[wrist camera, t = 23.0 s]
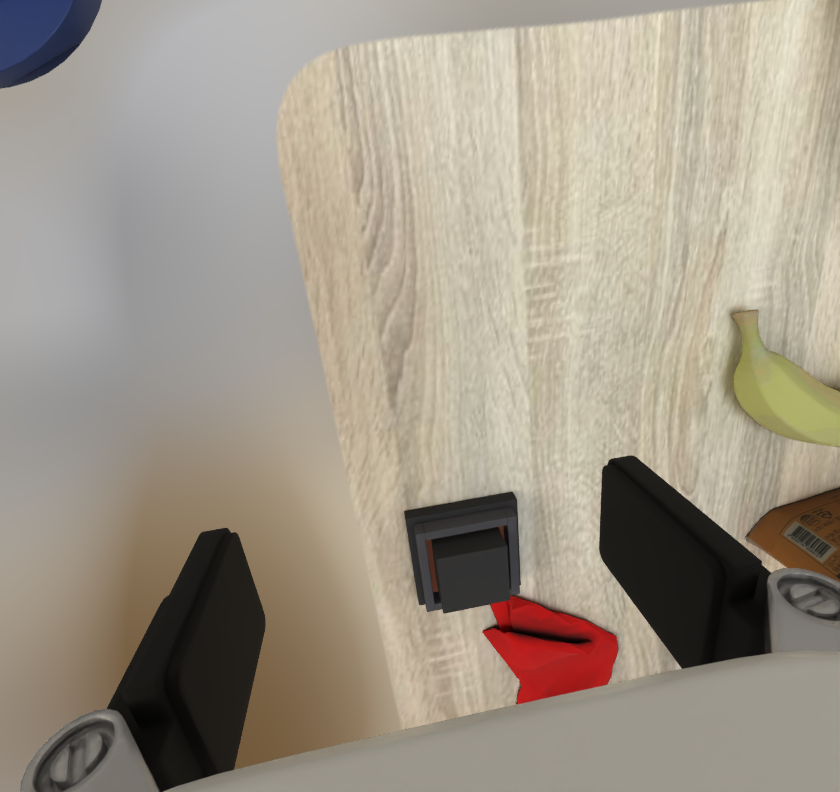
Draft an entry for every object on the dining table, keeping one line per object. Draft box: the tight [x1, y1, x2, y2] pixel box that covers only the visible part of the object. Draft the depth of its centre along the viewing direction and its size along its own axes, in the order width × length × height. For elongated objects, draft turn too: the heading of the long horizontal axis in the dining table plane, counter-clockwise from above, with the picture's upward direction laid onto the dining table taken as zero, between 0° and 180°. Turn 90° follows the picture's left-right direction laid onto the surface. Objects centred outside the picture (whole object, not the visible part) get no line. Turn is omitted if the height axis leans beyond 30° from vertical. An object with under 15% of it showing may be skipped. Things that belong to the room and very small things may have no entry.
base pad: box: [404, 492, 521, 612], centre depth 41 cm, size 10×10×3 cm
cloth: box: [483, 596, 618, 704], centre depth 49 cm, size 26×14×2 cm, turn 16°
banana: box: [732, 310, 840, 447], centre depth 38 cm, size 14×6×20 cm
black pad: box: [431, 527, 510, 613], centre depth 39 cm, size 6×6×3 cm
